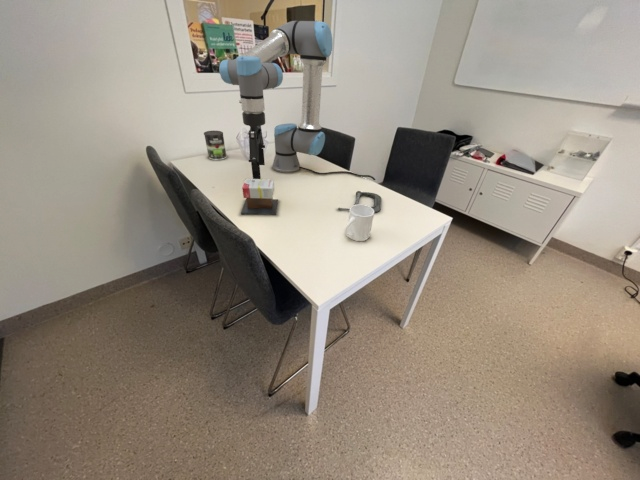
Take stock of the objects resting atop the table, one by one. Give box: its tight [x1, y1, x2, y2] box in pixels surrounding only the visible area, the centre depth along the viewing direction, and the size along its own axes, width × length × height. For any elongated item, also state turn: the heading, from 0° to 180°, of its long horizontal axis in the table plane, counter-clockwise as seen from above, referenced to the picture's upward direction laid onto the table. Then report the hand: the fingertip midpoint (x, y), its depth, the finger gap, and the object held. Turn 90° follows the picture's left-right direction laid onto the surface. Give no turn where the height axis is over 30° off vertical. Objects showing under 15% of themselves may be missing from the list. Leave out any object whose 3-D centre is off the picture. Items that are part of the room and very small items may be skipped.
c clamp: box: [337, 190, 382, 214], centre depth 118 cm, size 20×17×3 cm
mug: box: [345, 203, 375, 242], centre depth 94 cm, size 9×12×11 cm
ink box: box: [242, 178, 275, 199], centre depth 107 cm, size 9×5×12 cm
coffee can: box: [203, 130, 228, 161], centre depth 153 cm, size 10×10×14 cm
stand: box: [240, 197, 279, 216], centre depth 109 cm, size 14×12×6 cm
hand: (259, 171), depth 102 cm, fingers open, 13 cm apart
